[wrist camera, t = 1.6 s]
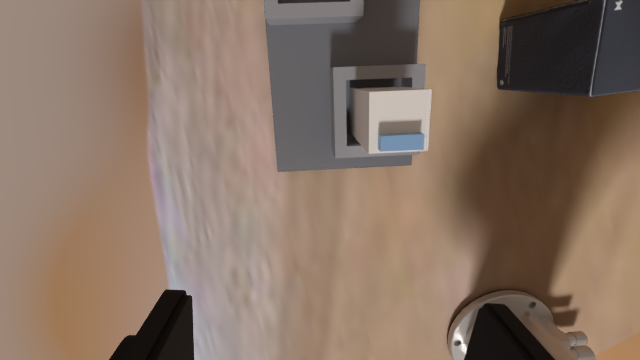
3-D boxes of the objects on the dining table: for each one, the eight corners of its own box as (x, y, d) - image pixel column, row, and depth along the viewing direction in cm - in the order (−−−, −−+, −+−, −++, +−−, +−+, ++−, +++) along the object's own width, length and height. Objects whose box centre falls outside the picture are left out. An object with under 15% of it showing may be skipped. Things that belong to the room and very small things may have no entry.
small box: (494, 94, 30) (588, 102, 21) (498, 19, 28) (603, -13, 19) (603, 80, 31) (749, 81, 21) (614, 4, 29) (782, -35, 19)
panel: (421, -107, 25) (441, -138, 22) (408, 162, 32) (422, 173, 28) (256, -104, 25) (248, -135, 21) (278, 169, 32) (275, 181, 28)
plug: (393, 86, 29) (436, 89, 20) (392, 130, 30) (432, 153, 21) (349, 87, 29) (372, 92, 19) (349, 132, 30) (371, 156, 21)
